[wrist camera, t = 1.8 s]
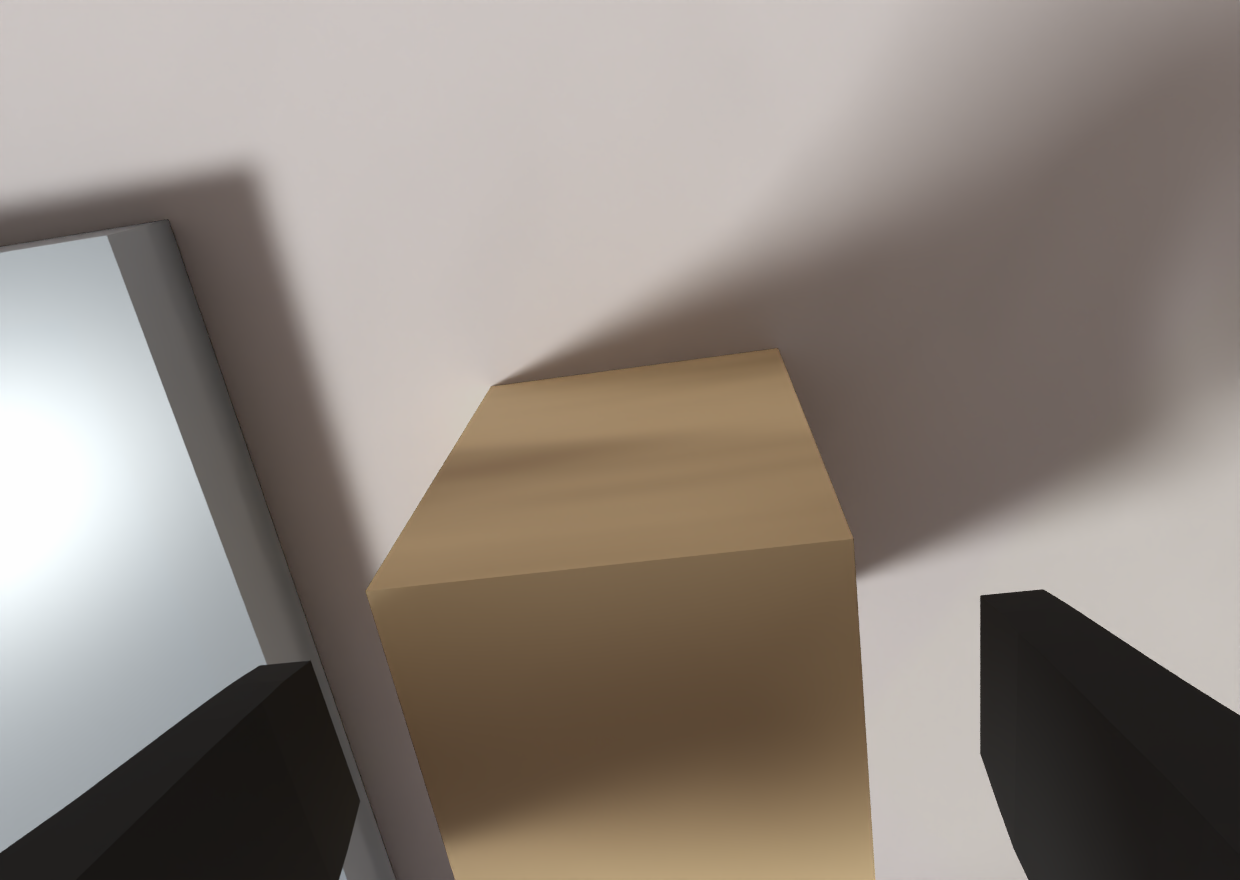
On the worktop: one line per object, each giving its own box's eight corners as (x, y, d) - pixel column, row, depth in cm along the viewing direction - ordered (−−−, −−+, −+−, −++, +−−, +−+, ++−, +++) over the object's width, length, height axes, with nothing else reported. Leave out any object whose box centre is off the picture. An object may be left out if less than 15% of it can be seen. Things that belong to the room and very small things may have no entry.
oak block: (801, 598, 15) (876, 907, 9) (545, 624, 15) (470, 930, 10) (777, 348, 13) (853, 539, 8) (491, 385, 14) (365, 591, 8)
